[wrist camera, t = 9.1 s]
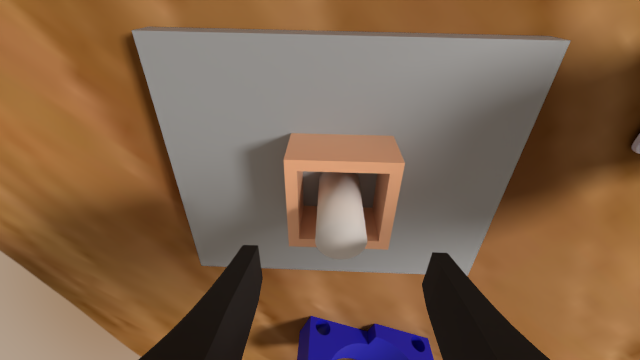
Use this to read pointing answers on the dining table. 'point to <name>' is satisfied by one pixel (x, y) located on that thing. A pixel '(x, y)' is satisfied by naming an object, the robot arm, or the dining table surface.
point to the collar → (346, 158)
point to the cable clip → (359, 343)
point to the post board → (349, 119)
